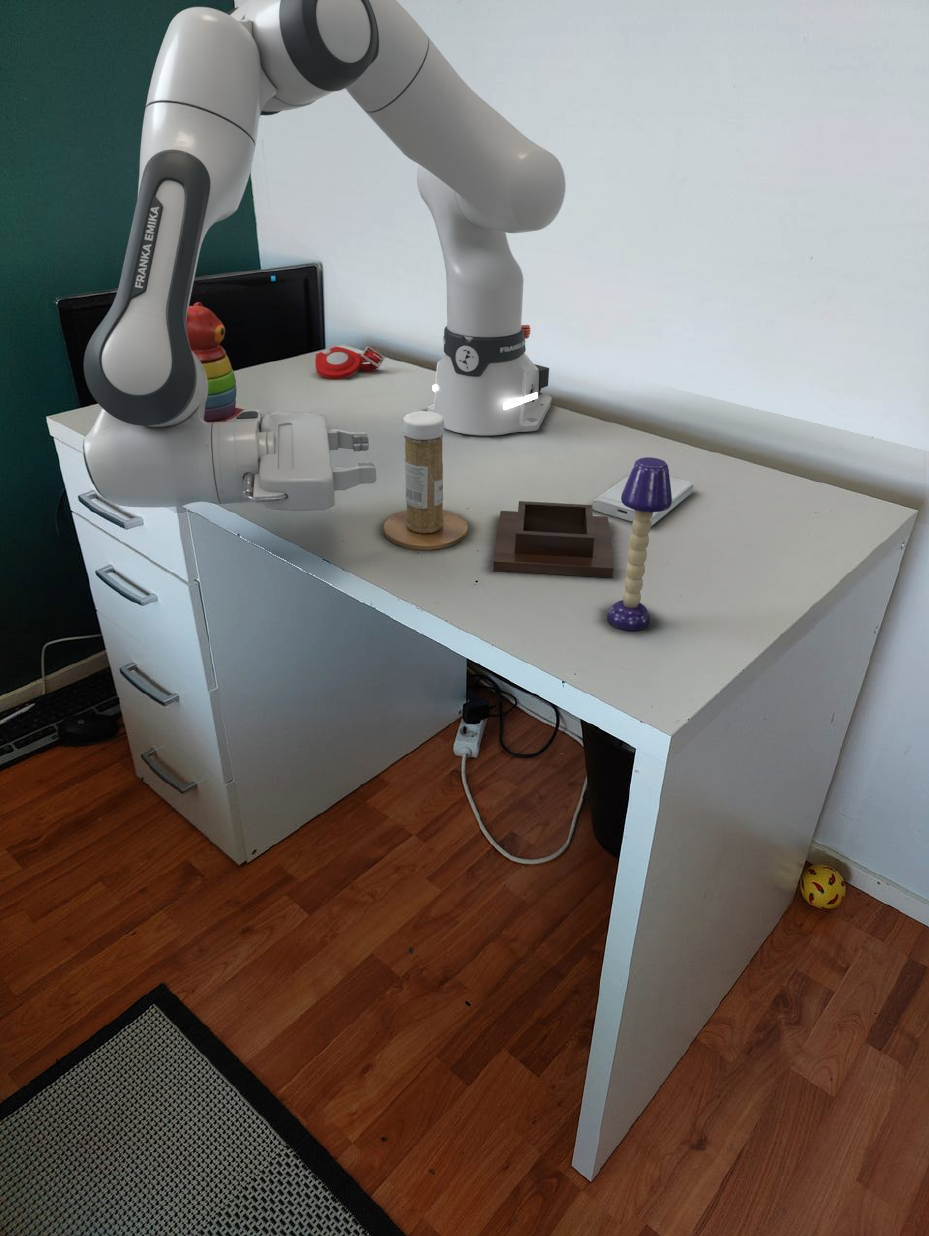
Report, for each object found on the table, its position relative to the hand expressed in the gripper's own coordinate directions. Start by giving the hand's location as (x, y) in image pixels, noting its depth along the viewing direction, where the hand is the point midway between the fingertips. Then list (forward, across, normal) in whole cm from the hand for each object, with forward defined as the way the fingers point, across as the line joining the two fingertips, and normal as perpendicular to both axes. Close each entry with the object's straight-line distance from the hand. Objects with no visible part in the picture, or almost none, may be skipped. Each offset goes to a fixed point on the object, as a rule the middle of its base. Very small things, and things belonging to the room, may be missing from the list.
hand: (371, 456), depth 96 cm
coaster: (+6, 0, +10) cm, 11 cm away
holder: (+20, -6, +10) cm, 23 cm away
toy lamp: (+24, -22, +10) cm, 34 cm away
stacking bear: (-21, +39, +10) cm, 46 cm away
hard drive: (+35, +4, +10) cm, 36 cm away
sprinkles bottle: (+6, 0, +9) cm, 11 cm away
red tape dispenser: (+1, +65, +10) cm, 66 cm away
